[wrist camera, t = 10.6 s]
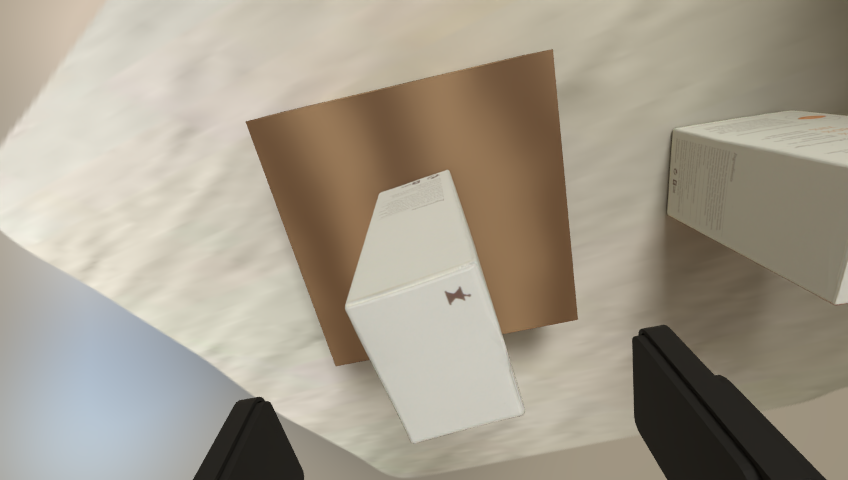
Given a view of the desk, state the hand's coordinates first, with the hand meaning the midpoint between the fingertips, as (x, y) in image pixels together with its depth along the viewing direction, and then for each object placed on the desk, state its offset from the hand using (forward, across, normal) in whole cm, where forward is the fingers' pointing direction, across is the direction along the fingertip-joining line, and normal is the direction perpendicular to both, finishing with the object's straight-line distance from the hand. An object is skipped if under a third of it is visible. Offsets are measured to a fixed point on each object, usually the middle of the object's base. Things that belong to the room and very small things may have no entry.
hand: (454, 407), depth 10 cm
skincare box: (+14, 0, 0) cm, 14 cm away
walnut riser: (+20, +1, +1) cm, 20 cm away
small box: (+21, -20, +3) cm, 29 cm away
